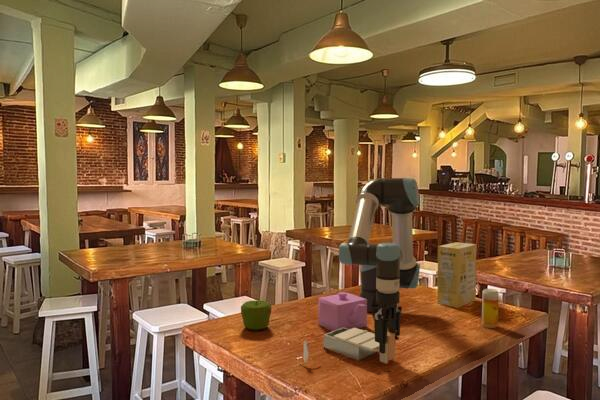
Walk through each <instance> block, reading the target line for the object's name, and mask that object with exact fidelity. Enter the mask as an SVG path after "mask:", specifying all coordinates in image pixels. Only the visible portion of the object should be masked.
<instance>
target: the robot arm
mask: <svg viewBox="0 0 600 400" xmlns="http://www.w3.org/2000/svg"><path fill="white" fill-rule="evenodd" d="M419 194H420V193H419V186H418V182H417V180H416V179H414V178H407V177H391V178H390V177H384V178H383V177H380V178H379V177H378V178H375V179H372V180H370V181H368V182H366V184H364V185H363V186H362V188H360V190H359V191H358V193H357V195H356V198H355V205H356V208H355V213H354V215H353V216H354V217H353V219H352V223H351V228H350V231H349V234H348V235H349V236H348V239H347V242H343V243H340V245H339V247H338V260H339V262H340V263H341V264H343V265H350V266H352V265H354V266H360V292H359V293H360V294H359V297H362V298H364V299H367V313H372V318H373V320H374V321H373V322H374V323H373V325H374V334H375V342H378V343H379V348H378V353H379V362H381V363H383V364H388V363H389V360H388V343H386V341H387V331H388V332H391V333H395V347H397V346H396V344H397V343H396V341H398V340H399V339H400V338H399V336H400V335H401V317H402V316H401V315H402V310H403V306H401V305H398V304H399V303H400V297H401V296H400V293H401V292H400V289H406V290H407V289H408V290H409V289H410V290H412V289H413V290H414V289H416V288H417V287H418V284H419V278H420V277H419V276H420V272H421V271H420V269H421V264H420V263H418V261H417V259H416V257H414V243H413V242H414V239H413V238H414V237H413V232H414V231H413V213H414V212H415V211H416V208H417V207H419V205H420V195H419ZM379 206H381V207H382V206H384V207H386V206H387V210H388V212H389V213H391V230H392V242H382V243H377V244H372V243H371V244H370V238H371V233H372V228H373V222H374V218H375V213H376V210H377V209H378V208H379ZM395 359H396V356H395V357H394V358H392V359H391V360H394V361H395Z"/></svg>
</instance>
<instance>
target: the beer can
mask: <svg viewBox="0 0 600 400" xmlns="http://www.w3.org/2000/svg"><path fill="white" fill-rule="evenodd" d="M481 300H482V303H481V324H482V326H483V327H485V328H487V329H496V328H497V327H498V326H499V291H498V290H497V289H495V288H483V290H482V296H481Z"/></svg>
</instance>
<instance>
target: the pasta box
mask: <svg viewBox="0 0 600 400" xmlns="http://www.w3.org/2000/svg"><path fill="white" fill-rule="evenodd" d="M476 270H477V244H475V243H467V242H459V241H457V242H456V241H455V242H451V243H447V244H442V245H437V294H436V295H437V299H436V301H437V302H436V303H437V304H438V305H442V306H447V307H451V308H457V309H459V308H461V307H463V306H466V305H468V304H470V303H472V302H475V301H476V292H477V291H476V289H477V288H476V283H477V282H476V281H477V280H476V279H477V271H476ZM458 307H459V308H458Z"/></svg>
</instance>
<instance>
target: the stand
mask: <svg viewBox="0 0 600 400" xmlns="http://www.w3.org/2000/svg"><path fill="white" fill-rule="evenodd" d="M309 346H310V344H309V342H308V341H307V340H304V341H303V359H304V362H308V359H309Z"/></svg>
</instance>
